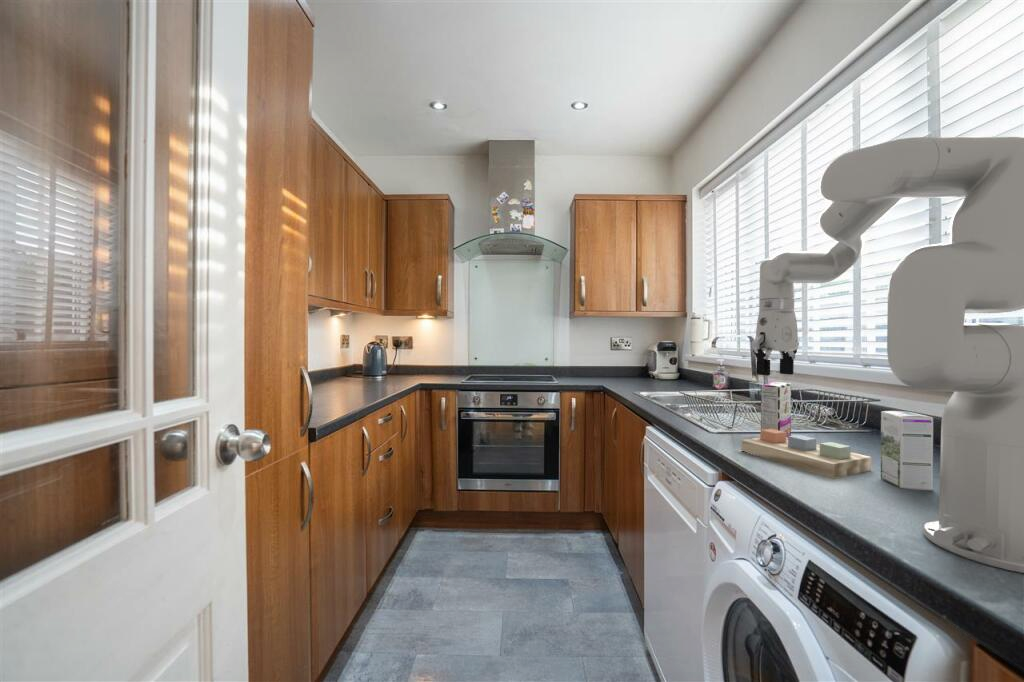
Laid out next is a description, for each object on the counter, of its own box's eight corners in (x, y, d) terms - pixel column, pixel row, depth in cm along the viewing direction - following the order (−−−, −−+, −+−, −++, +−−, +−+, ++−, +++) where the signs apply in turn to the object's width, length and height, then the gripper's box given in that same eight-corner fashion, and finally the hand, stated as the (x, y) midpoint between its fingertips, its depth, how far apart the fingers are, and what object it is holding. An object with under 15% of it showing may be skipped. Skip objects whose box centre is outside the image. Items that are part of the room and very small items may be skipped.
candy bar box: (771, 435, 120) (772, 381, 120) (791, 438, 117) (792, 383, 116) (759, 441, 113) (760, 384, 113) (779, 445, 109) (780, 385, 109)
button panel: (833, 478, 83) (833, 464, 83) (741, 451, 103) (741, 439, 103) (871, 470, 89) (871, 457, 89) (777, 446, 108) (777, 435, 108)
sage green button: (839, 461, 87) (840, 448, 87) (819, 456, 90) (819, 443, 90) (850, 459, 88) (850, 446, 88) (830, 454, 92) (830, 441, 92)
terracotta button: (775, 445, 100) (775, 433, 100) (760, 441, 103) (760, 429, 103) (786, 443, 101) (786, 432, 101) (770, 440, 105) (770, 428, 105)
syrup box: (934, 491, 77) (936, 416, 77) (898, 488, 78) (900, 415, 78) (911, 480, 83) (912, 411, 82) (878, 478, 84) (879, 409, 84)
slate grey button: (805, 452, 93) (805, 440, 93) (788, 448, 97) (788, 436, 97) (816, 451, 95) (816, 438, 95) (798, 446, 98) (798, 434, 98)
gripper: (767, 304, 95) (766, 377, 95) (813, 307, 102) (812, 375, 102) (739, 306, 102) (737, 374, 102) (783, 308, 109) (782, 372, 109)
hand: (774, 374), depth 102 cm, fingers open, 8 cm apart
